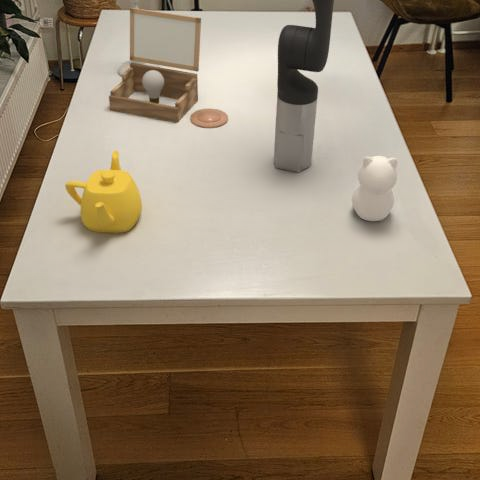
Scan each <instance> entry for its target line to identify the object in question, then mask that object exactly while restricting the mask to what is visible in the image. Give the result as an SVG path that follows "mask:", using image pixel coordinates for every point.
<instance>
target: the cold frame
mask: <svg viewBox="0 0 480 480" xmlns="http://www.w3.org/2000/svg"><path fill="white" fill-rule="evenodd" d="M151 70H155V71H158V72H160V73H161V74H162V76H163V78H164V86H163V88H162V90H161V92H160V96H159V97H165V98H171V99H176V100H177V101H175V102H174V106H173V105H167V104H162V103H159V104H158V103H152V102H150V101H147V100H141V99H135V98H129V97H130V96H131V95H133V93H135V92H139V93H142V94H148V93H147V91H146V89H145V88H144V87H143V84H142V79H143V76H144V74H145V73H146V72H148V71H151ZM198 79H199V78H198V73H194V72H190V71H189V72H188V71H183V70H182V71H181V70H176V69H172V68H171V69H170V68H163V67H161V66H160V67H154V66H148V65H142V64H136V63H130V68H129V69H128V70H126V71H125V72H124V73H123V74H122V77H121V81H120V83H118V84H117V85H116V86H115V87H114V88H112V89H111V90H110V95H108V102H109V110H111V111H113V112H118V113H125V114H131V115H135V116H140V117H145V118H146V117H147V118H151V119H156V120H161V121H166V122H172V123H179V122H180V120H181V119H182V118H183V117H184V116H185V115H186V114H187V113H189V111H190V110H191V109H192V108H193V107H194V106H195V105H196V104H197V102H198V101H199V96H198V95H199V92H198V91H199V90H198V89H199V88H198V87H199V85H198ZM194 104H195V105H194ZM193 105H194V106H193ZM192 106H193V107H192ZM191 107H192V108H191Z"/></svg>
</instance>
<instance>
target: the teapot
mask: <svg viewBox="0 0 480 480" xmlns="http://www.w3.org/2000/svg"><path fill="white" fill-rule="evenodd" d="M119 154H120V153H119V151H118V150H117V149H116V150H114V151H113V152H112V154H111V162H110V169H102V170H101V169H100V170H95V171H94V172H93V173H92V174H90V176H89V177H88V179H87V181H86V182H84V181H79V180H69V181H67V182H66V183H65V190H66V192H67V194H68V195H69V196H70V197H71V198H72V199H73V200H74V201H75V202H76V203H77V204H78V205H79V206H80V217H81V221H82V224H83V225H84V227H86V229H88V231H90V230H91V232H93V231H94V232H93V233H101V232H102V233H103V234H104V233H105V234H120V233H125V232H129V231H130V230H132V229H133V227H134V226H135V225H136V223H137V222H138V220H139V218H140V216H141V214H142V208H143V203H142V198H141V194H140V191H139V188H138V186H137V184H136V182H135V180H134V179H133V176H132V175H131V174H130V172H129V171H126V170H122V169H121V165H120V160H119V159H120V158H119V156H120V155H119ZM76 188H80V189H83V191H82V196H81V195H79V193H78V192H77V190H76Z"/></svg>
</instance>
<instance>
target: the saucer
mask: <svg viewBox="0 0 480 480" xmlns="http://www.w3.org/2000/svg"><path fill="white" fill-rule="evenodd" d="M189 118H190V121H191V124H193V125H195V126H196V127H199V128H204V129H215V128H219V127H222V126H224V125H225V124H227V123H228V121H229V115H228V114H227V113H226V112H225V111H223V110H221V109H218V108H217V109H216V108H202V109H197V110H195V111H193V113H191V114H190V117H189Z"/></svg>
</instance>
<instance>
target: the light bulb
mask: <svg viewBox="0 0 480 480" xmlns="http://www.w3.org/2000/svg"><path fill="white" fill-rule="evenodd" d="M142 84H143V87H144V88H145V89H146V91H147V93H146V94H147V95H148V99H149V101H148V102H152V103H158V104H160V97H161V96H160V92H161V90H162V88H163V86H164V78H163V76H162V74H161V73H160V72H158V71H155V70H151V71H148V72H146V73H145V74H144V76H143V79H142Z"/></svg>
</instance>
